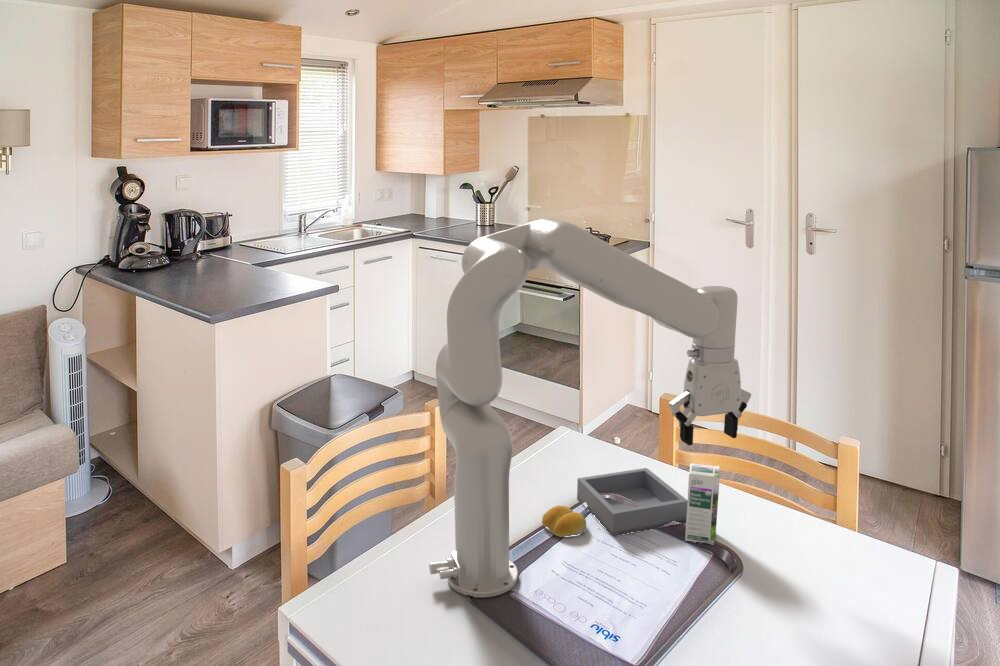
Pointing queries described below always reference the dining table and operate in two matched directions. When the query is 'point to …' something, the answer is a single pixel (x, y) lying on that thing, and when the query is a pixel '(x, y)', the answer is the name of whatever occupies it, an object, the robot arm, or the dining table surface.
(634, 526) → the bin
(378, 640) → the dining table surface
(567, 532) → the bread roll
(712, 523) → the syrup box
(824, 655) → the dining table surface
